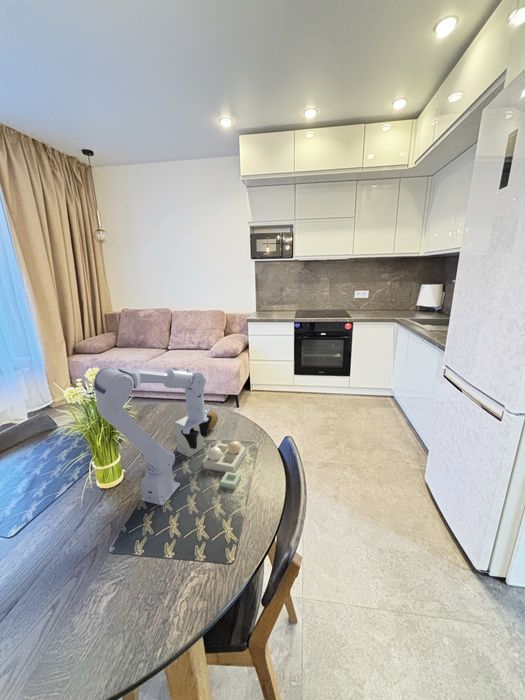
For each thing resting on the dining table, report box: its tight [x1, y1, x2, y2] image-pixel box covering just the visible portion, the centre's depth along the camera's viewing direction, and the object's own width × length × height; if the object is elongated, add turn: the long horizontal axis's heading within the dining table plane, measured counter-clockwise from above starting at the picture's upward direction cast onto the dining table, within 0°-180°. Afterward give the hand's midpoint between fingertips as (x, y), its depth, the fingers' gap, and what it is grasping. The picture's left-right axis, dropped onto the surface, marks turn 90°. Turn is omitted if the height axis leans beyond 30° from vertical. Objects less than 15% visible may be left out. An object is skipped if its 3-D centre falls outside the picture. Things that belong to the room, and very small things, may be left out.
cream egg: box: [207, 446, 222, 461], centre depth 105 cm, size 5×5×5 cm
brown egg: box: [227, 440, 242, 455], centre depth 108 cm, size 5×5×5 cm
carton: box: [202, 442, 247, 473], centre depth 107 cm, size 12×12×3 cm
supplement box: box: [173, 415, 205, 458], centre depth 114 cm, size 7×7×13 cm
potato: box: [208, 411, 219, 431], centre depth 129 cm, size 10×14×8 cm
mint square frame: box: [219, 472, 242, 491], centre depth 96 cm, size 5×5×2 cm
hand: (199, 441), depth 103 cm, fingers open, 7 cm apart
